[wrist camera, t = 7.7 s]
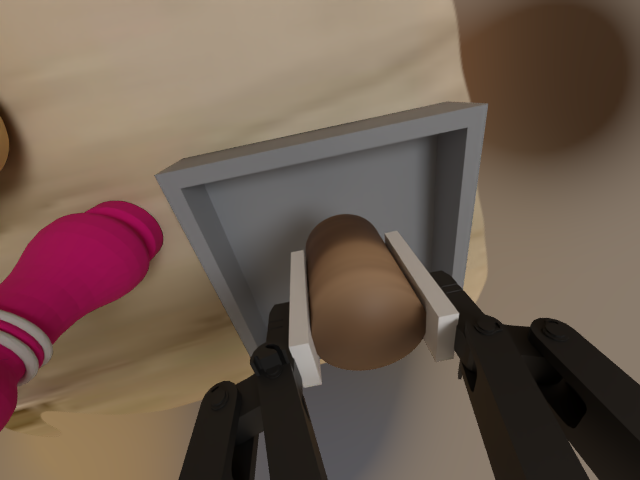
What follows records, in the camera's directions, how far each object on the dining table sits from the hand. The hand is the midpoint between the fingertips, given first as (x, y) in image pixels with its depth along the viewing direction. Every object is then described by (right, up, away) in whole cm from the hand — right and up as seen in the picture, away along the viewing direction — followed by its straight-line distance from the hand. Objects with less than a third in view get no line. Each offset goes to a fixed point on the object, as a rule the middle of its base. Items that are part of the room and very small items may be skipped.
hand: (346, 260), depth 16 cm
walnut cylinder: (0, +1, +1) cm, 2 cm away
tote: (0, +1, +11) cm, 11 cm away
